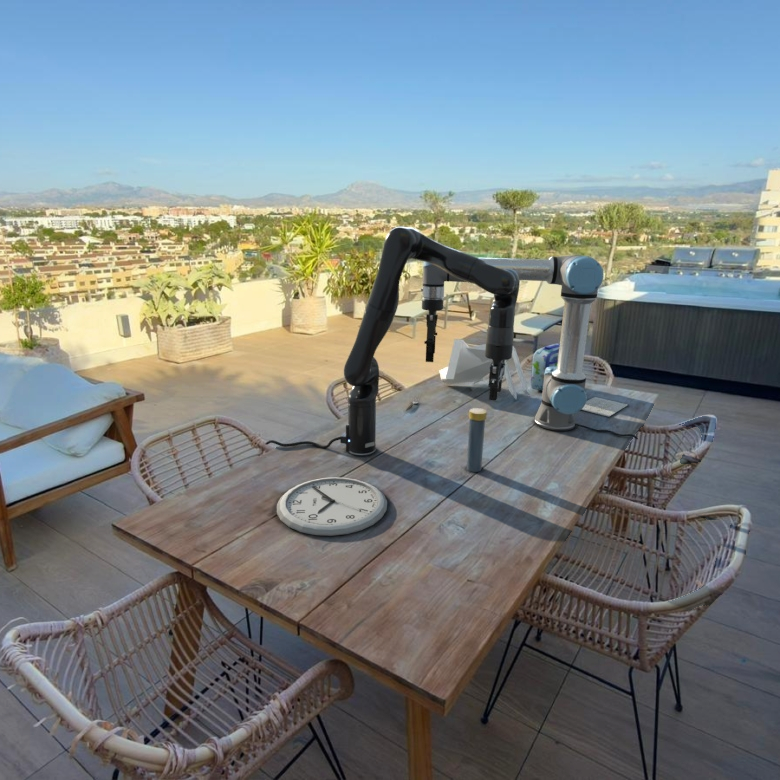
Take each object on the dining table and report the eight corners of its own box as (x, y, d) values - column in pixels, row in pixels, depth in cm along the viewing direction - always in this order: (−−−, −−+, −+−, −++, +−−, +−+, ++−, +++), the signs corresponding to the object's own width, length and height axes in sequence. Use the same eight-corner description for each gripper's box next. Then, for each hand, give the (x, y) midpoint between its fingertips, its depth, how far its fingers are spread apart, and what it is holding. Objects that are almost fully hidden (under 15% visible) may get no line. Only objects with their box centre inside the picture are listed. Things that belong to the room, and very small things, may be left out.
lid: (475, 421, 157) (476, 414, 157) (465, 416, 162) (465, 409, 161) (489, 419, 160) (490, 412, 159) (479, 413, 164) (479, 407, 164)
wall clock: (392, 527, 129) (268, 531, 127) (391, 533, 130) (269, 537, 127) (383, 473, 158) (282, 475, 155) (383, 478, 158) (282, 480, 156)
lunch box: (547, 395, 239) (552, 351, 233) (526, 390, 247) (530, 347, 240) (574, 384, 257) (579, 343, 251) (554, 380, 264) (558, 339, 258)
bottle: (472, 473, 163) (476, 415, 157) (463, 467, 167) (467, 411, 161) (484, 470, 165) (488, 413, 159) (475, 464, 169) (479, 409, 163)
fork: (403, 411, 216) (403, 406, 215) (414, 400, 230) (414, 395, 230) (409, 412, 215) (409, 407, 215) (420, 400, 229) (420, 396, 229)
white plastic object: (461, 429, 252) (437, 405, 227) (444, 352, 274) (420, 323, 250) (535, 404, 240) (518, 377, 215) (510, 326, 262) (492, 293, 237)
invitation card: (608, 416, 214) (573, 407, 224) (608, 416, 214) (573, 408, 224) (628, 404, 229) (594, 396, 238) (628, 405, 229) (594, 397, 238)
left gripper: (490, 335, 155) (486, 387, 160) (482, 345, 143) (478, 401, 147) (515, 337, 153) (510, 390, 158) (510, 347, 140) (505, 404, 145)
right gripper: (424, 293, 195) (422, 349, 202) (419, 302, 172) (417, 365, 178) (444, 294, 195) (441, 350, 201) (442, 303, 171) (439, 366, 177)
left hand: (495, 395), depth 153 cm, fingers open, 8 cm apart
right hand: (430, 357), depth 190 cm, fingers open, 13 cm apart
